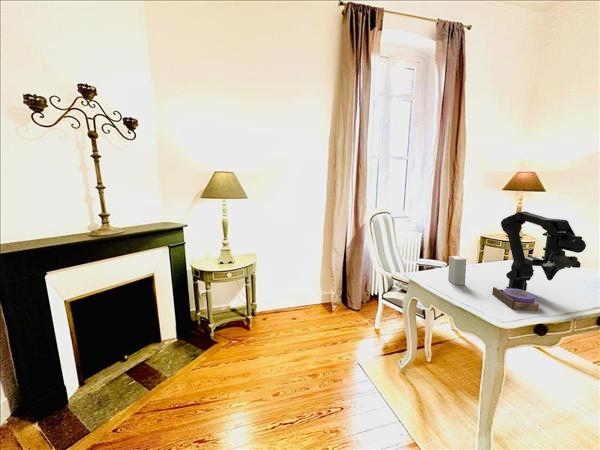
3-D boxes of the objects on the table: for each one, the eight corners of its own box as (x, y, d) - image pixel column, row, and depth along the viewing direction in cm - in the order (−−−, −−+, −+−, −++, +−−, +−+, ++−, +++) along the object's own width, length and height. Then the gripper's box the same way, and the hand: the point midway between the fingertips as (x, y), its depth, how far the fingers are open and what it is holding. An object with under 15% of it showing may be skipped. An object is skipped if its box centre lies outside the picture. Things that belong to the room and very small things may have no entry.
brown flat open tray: (511, 309, 118) (512, 300, 117) (492, 294, 133) (493, 287, 132) (538, 311, 116) (539, 302, 115) (515, 296, 131) (516, 288, 131)
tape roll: (522, 310, 117) (523, 299, 116) (496, 299, 128) (497, 289, 127) (540, 306, 120) (542, 296, 119) (513, 296, 131) (514, 287, 130)
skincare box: (465, 285, 145) (467, 259, 143) (453, 285, 146) (456, 259, 144) (457, 279, 154) (459, 255, 151) (446, 279, 154) (449, 255, 152)
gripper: (543, 250, 112) (538, 285, 114) (595, 252, 108) (588, 288, 111) (526, 244, 122) (522, 276, 125) (572, 246, 119) (567, 279, 122)
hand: (549, 280), depth 120 cm, fingers closed
